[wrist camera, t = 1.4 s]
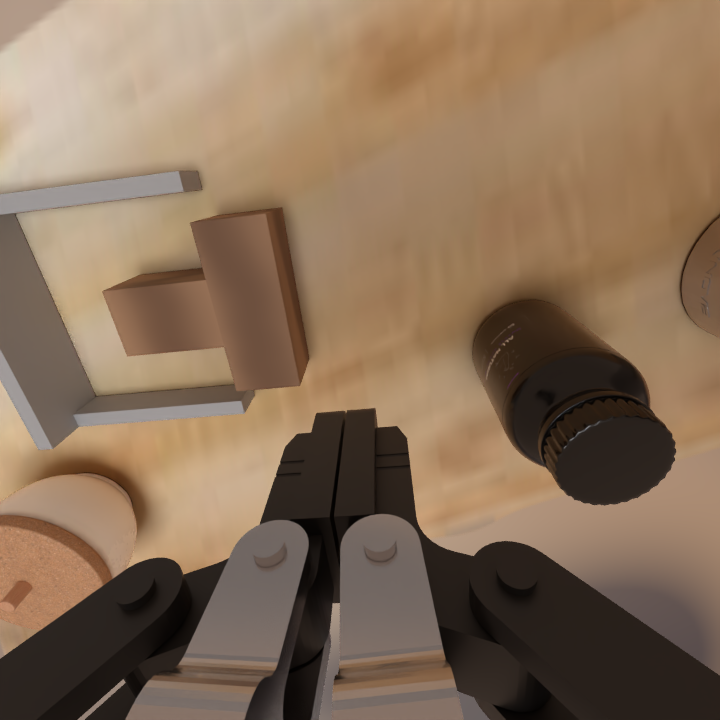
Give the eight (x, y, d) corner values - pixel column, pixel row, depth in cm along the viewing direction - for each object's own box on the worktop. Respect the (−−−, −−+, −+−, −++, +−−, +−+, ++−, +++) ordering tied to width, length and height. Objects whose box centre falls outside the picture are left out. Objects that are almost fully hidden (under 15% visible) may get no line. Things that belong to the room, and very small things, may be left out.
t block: (281, 207, 24) (265, 213, 20) (309, 358, 28) (300, 385, 25) (123, 226, 25) (80, 235, 21) (172, 371, 29) (144, 399, 25)
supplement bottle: (463, 310, 26) (525, 406, 15) (572, 286, 25) (718, 371, 15) (476, 399, 29) (536, 534, 18) (574, 380, 28) (699, 511, 17)
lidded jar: (139, 448, 32) (54, 547, 24) (173, 544, 37) (111, 657, 28) (12, 451, 33) (-116, 549, 24) (60, 545, 37) (-34, 656, 29)
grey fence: (197, 171, 23) (154, 170, 19) (254, 395, 30) (232, 435, 25) (-9, 198, 24) (-96, 203, 20) (88, 409, 31) (38, 449, 26)
